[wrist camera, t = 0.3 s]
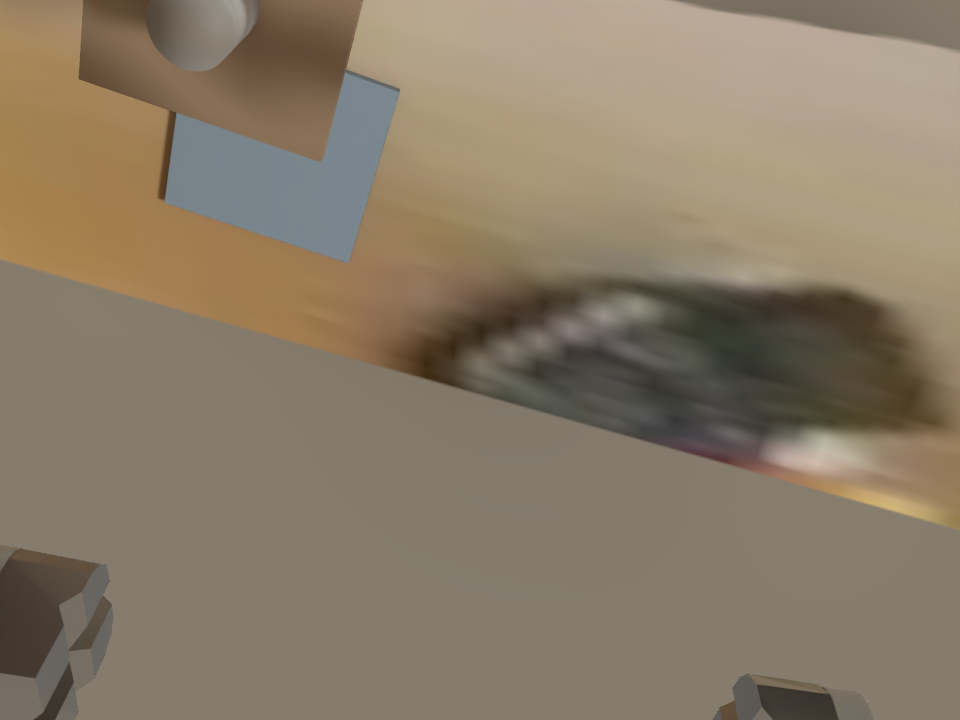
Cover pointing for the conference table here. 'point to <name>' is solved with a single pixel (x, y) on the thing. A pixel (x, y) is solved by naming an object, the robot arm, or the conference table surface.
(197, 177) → the slate mat
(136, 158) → the conference table surface
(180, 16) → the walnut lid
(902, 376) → the conference table surface
